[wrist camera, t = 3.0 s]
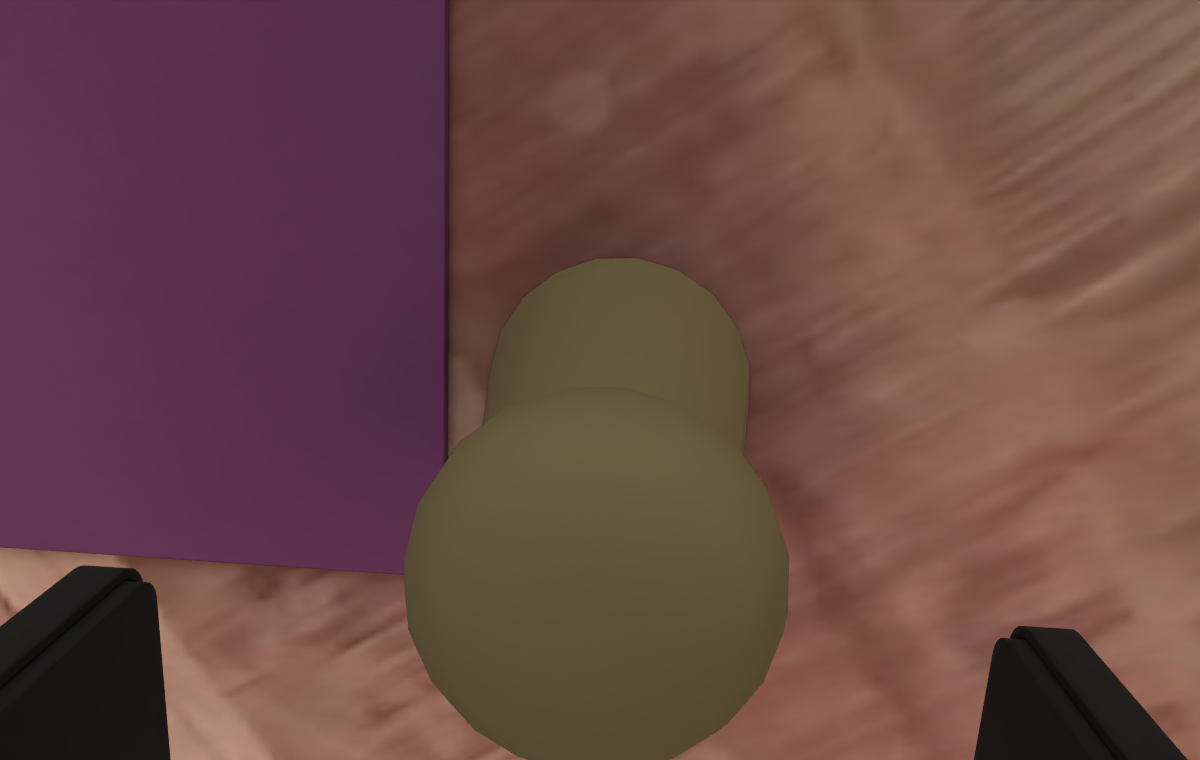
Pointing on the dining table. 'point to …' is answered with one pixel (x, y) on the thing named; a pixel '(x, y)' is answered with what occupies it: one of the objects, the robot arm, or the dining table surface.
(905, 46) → the dining table surface
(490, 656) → the pepper mill
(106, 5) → the placemat
